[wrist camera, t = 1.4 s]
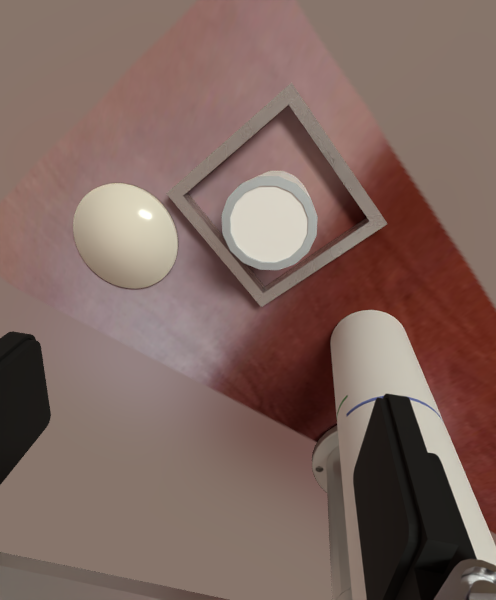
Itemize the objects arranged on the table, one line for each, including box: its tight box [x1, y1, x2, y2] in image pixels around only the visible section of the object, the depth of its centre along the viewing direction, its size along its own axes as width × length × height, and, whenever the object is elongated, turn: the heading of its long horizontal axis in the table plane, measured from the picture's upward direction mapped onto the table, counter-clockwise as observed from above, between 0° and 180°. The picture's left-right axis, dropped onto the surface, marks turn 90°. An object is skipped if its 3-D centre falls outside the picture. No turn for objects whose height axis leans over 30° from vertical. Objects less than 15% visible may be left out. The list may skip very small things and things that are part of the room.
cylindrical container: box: [330, 310, 496, 600], centre depth 28 cm, size 7×7×25 cm
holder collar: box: [166, 83, 387, 307], centre depth 34 cm, size 13×13×2 cm
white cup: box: [222, 171, 317, 270], centre depth 32 cm, size 7×7×7 cm
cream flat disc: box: [73, 183, 178, 289], centre depth 38 cm, size 10×10×1 cm
